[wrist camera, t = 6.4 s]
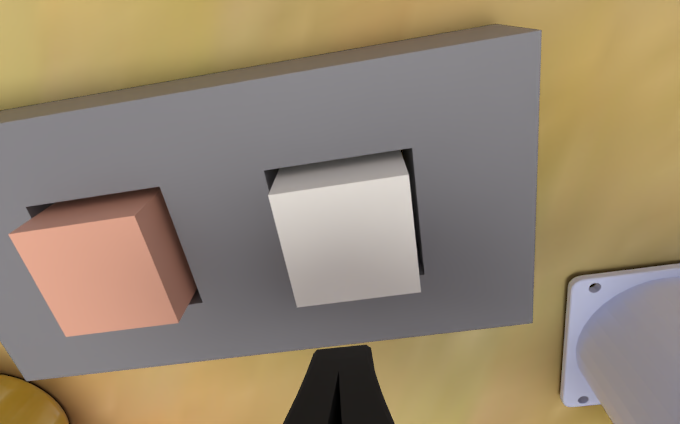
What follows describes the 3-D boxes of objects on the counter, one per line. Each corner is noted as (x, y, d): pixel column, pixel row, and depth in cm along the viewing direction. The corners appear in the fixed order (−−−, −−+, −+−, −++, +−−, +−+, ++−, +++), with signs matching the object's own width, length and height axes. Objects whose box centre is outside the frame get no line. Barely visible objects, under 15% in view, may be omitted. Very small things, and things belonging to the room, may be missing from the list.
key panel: (495, 24, 15) (541, 30, 12) (498, 264, 19) (532, 323, 16) (-26, 115, 17) (-127, 145, 13) (81, 317, 21) (26, 381, 18)
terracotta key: (181, 168, 16) (134, 215, 13) (212, 258, 18) (178, 323, 14) (82, 184, 17) (8, 234, 13) (121, 271, 18) (65, 336, 15)
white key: (394, 135, 16) (409, 174, 12) (405, 232, 17) (421, 292, 14) (286, 151, 16) (267, 195, 12) (307, 245, 18) (297, 307, 14)
